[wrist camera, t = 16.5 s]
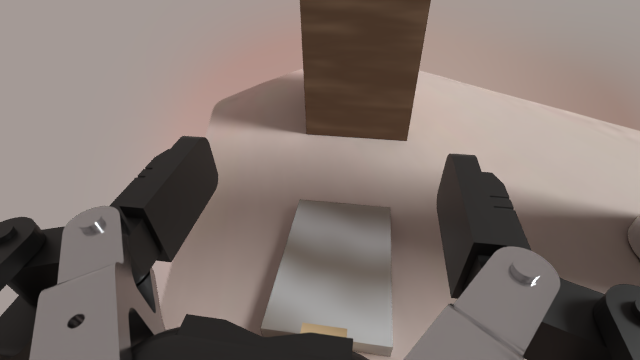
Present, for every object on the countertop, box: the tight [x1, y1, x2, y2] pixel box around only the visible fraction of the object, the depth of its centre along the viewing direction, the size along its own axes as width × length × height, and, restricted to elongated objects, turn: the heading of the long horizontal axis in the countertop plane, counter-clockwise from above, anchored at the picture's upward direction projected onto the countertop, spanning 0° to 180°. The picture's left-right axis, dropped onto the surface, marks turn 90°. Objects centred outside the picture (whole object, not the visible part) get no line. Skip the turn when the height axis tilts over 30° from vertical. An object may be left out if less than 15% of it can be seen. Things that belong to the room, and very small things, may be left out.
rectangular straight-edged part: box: [261, 200, 393, 357], centre depth 20 cm, size 22×8×3 cm, turn 171°
